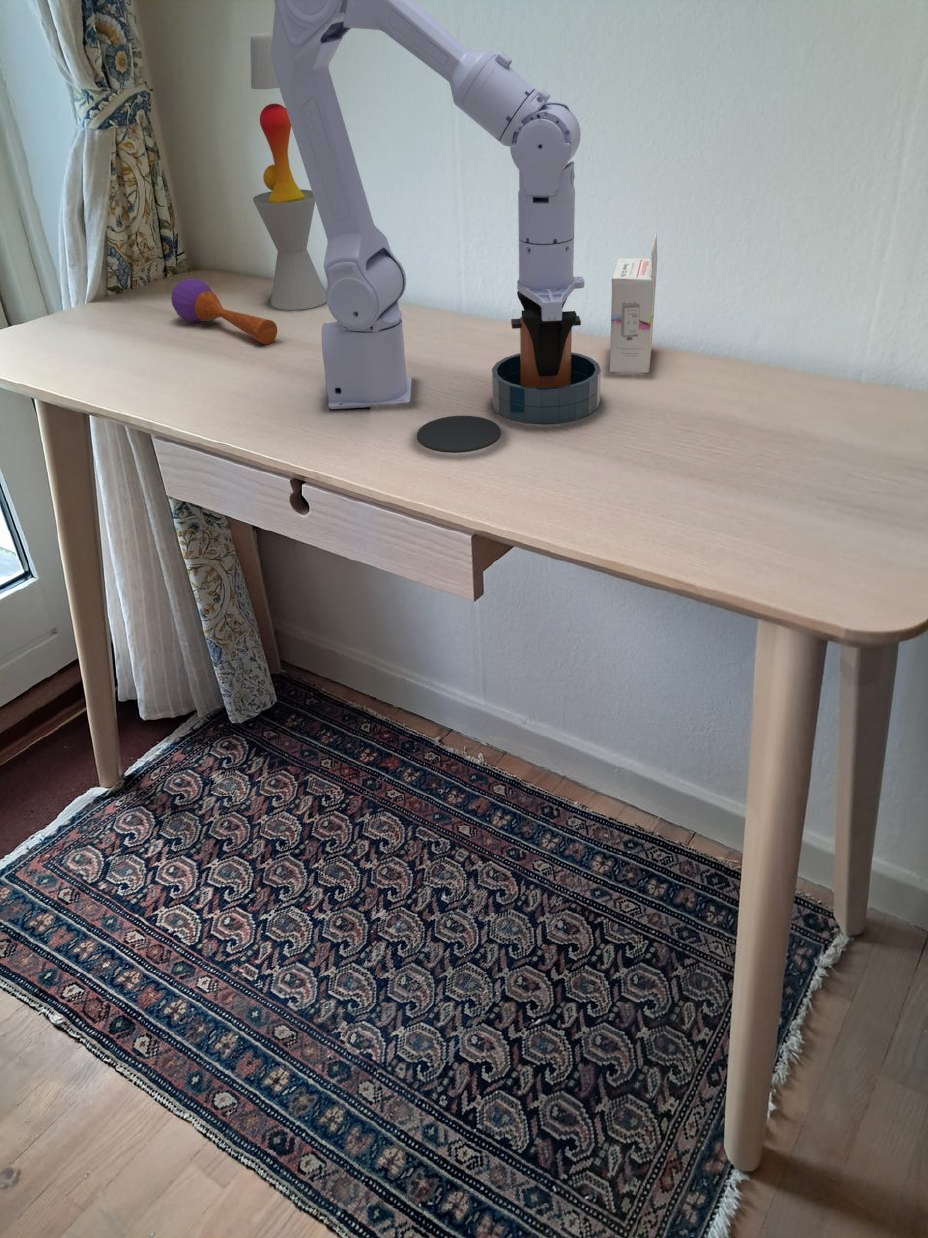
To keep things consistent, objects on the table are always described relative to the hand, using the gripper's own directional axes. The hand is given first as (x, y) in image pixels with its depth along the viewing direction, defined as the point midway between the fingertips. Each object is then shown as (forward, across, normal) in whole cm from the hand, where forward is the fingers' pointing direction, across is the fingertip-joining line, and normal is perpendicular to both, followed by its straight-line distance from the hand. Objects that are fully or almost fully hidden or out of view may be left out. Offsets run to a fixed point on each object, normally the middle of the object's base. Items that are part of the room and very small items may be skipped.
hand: (545, 364), depth 109 cm
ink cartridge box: (+5, +12, -12) cm, 17 cm away
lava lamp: (+5, +45, +33) cm, 56 cm away
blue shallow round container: (+5, 0, 0) cm, 5 cm away
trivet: (+5, -8, +10) cm, 13 cm away
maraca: (+5, +33, +42) cm, 54 cm away
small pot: (+3, 0, 0) cm, 3 cm away
